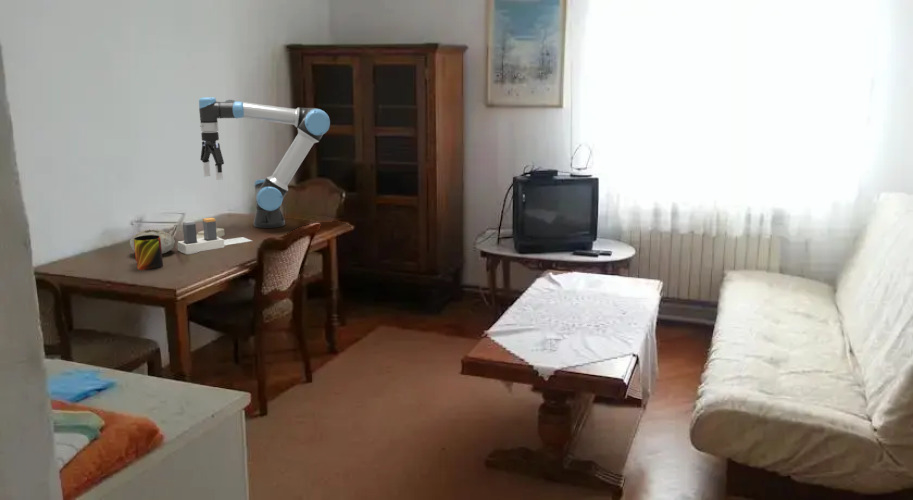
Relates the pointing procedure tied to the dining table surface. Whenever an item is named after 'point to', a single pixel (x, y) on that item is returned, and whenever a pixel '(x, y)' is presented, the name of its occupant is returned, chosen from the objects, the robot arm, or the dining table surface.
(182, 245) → the socket strip
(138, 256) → the mug
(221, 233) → the electrical outlet
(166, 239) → the grey stone
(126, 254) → the dining table surface
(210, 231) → the plug
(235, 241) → the tray
